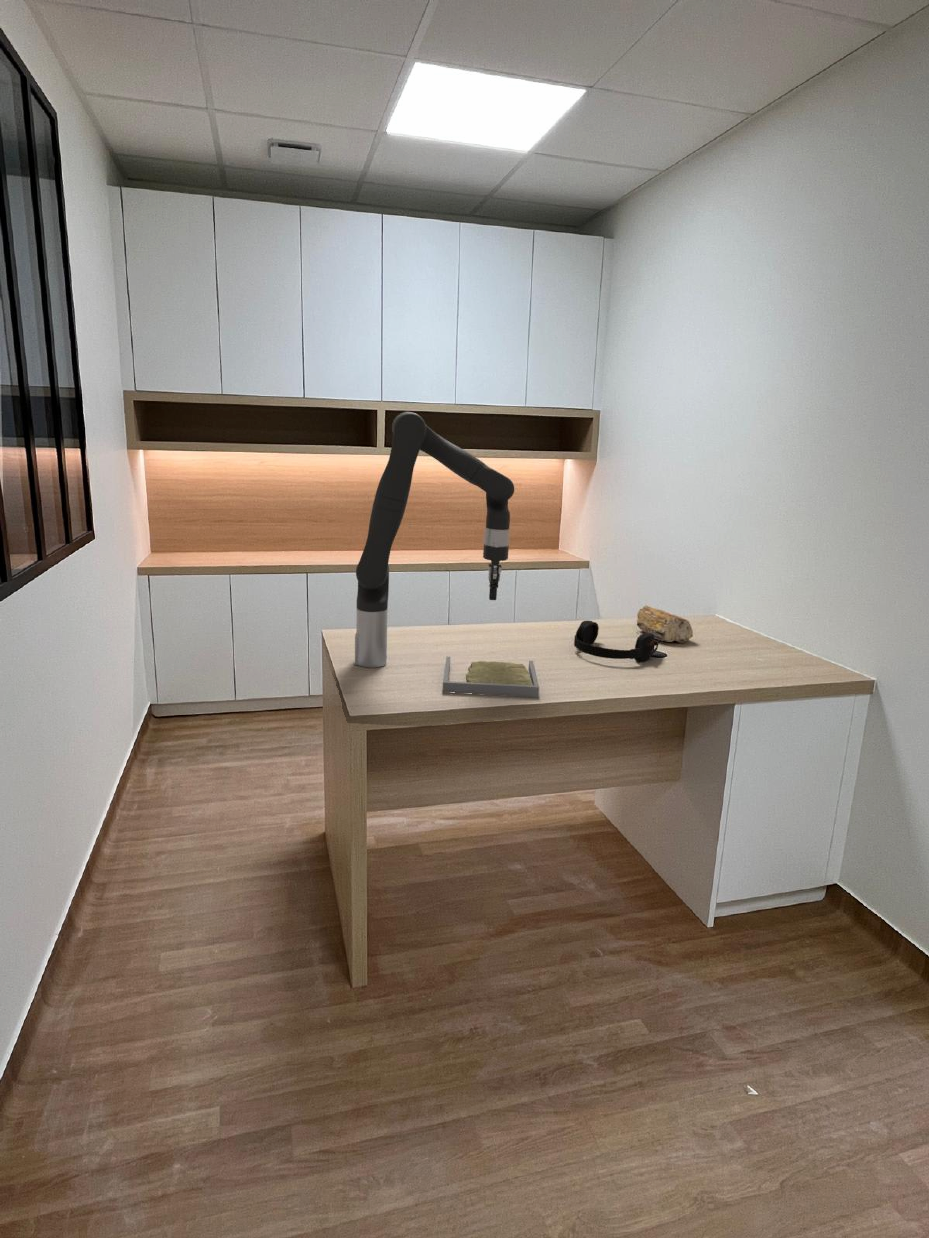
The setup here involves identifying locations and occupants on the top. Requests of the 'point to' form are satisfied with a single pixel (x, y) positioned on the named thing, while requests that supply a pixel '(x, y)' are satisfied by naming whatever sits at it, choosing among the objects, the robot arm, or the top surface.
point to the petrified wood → (664, 625)
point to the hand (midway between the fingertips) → (492, 599)
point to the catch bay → (492, 685)
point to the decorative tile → (498, 673)
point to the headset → (641, 652)
